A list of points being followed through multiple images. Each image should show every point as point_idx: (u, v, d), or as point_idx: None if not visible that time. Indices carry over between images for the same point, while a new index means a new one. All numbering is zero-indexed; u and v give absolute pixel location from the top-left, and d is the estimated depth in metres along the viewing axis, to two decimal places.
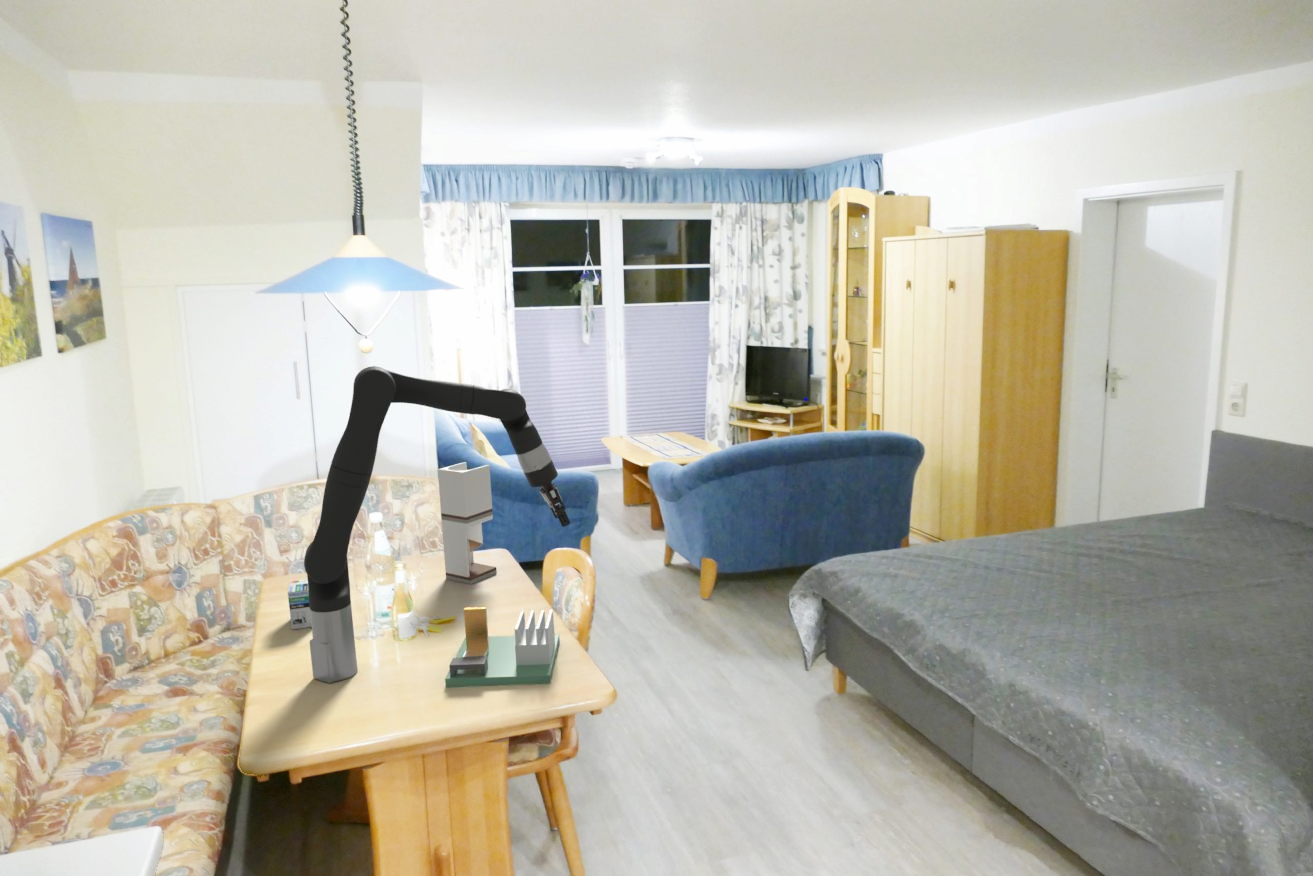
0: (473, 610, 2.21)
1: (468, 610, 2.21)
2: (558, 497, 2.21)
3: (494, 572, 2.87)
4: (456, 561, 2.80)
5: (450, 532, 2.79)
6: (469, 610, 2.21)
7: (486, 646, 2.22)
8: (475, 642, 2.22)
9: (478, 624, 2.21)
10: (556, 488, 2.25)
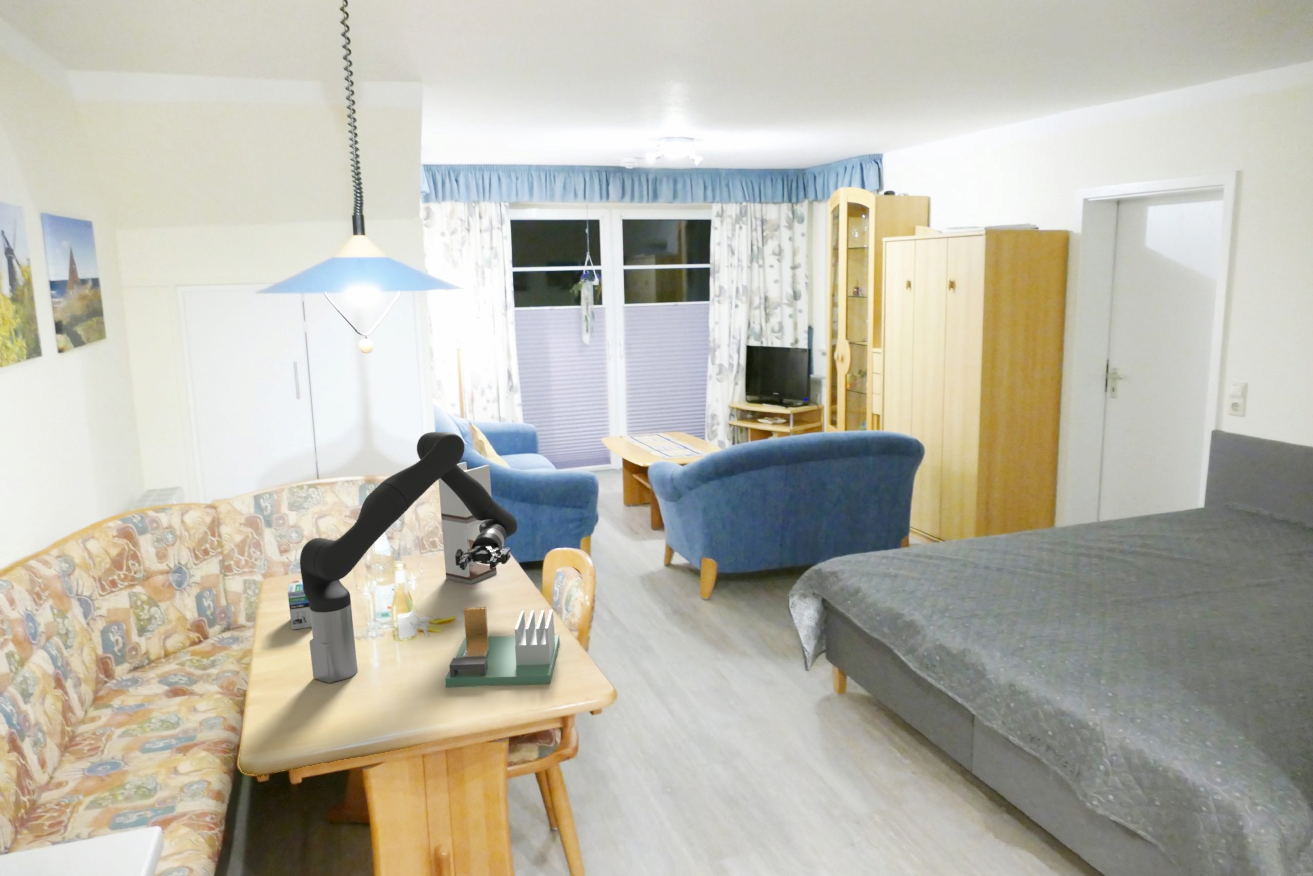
0: (473, 610, 2.21)
1: (468, 610, 2.21)
2: (508, 557, 2.34)
3: (494, 572, 2.87)
4: None
5: (450, 532, 2.79)
6: (469, 610, 2.21)
7: (486, 646, 2.22)
8: (475, 642, 2.22)
9: (478, 624, 2.21)
10: None
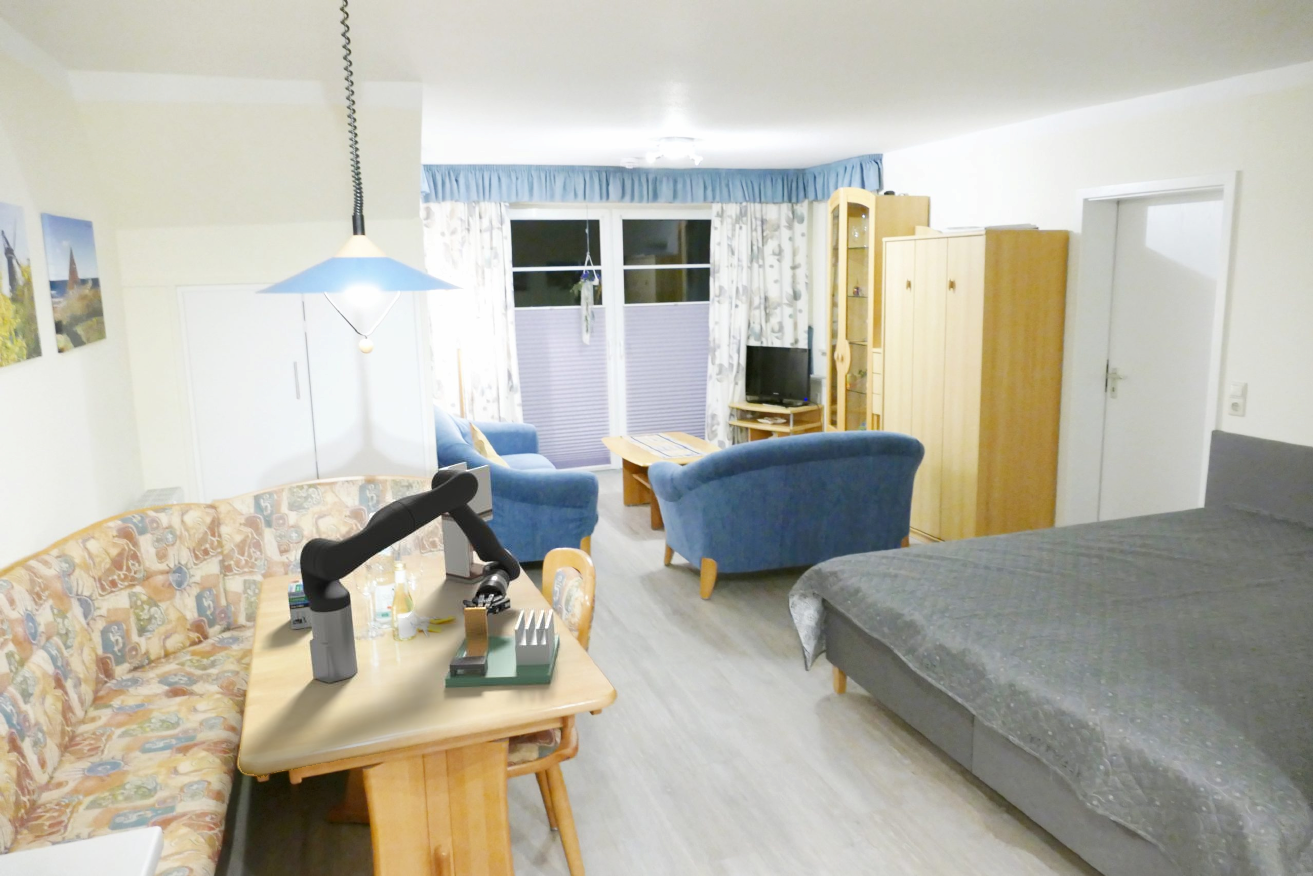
0: (473, 610, 2.21)
1: (468, 610, 2.21)
2: (505, 608, 2.35)
3: None
4: (456, 561, 2.80)
5: (450, 532, 2.79)
6: (469, 610, 2.21)
7: (486, 646, 2.22)
8: (475, 642, 2.22)
9: (478, 624, 2.21)
10: None
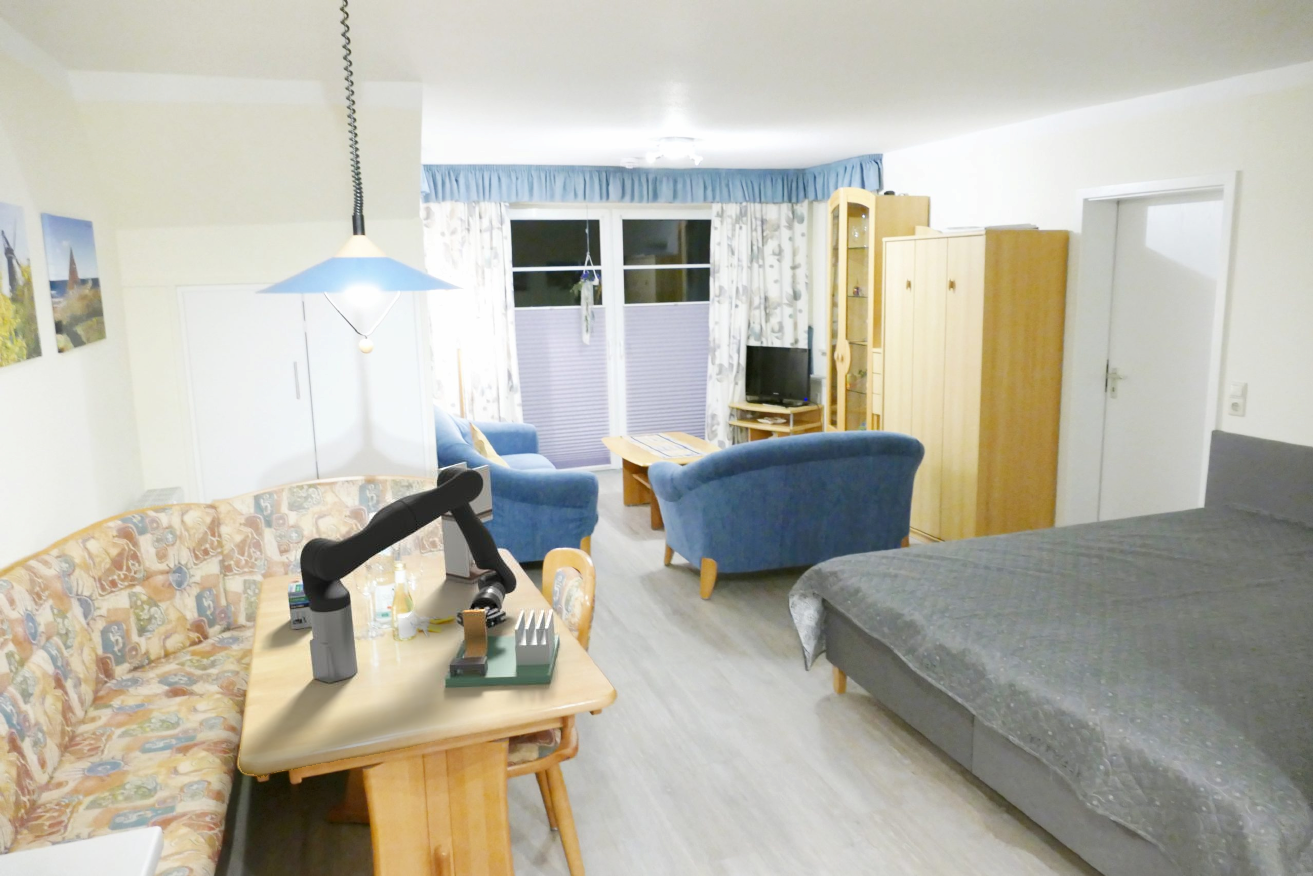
0: (472, 612, 2.19)
1: (467, 612, 2.19)
2: (500, 622, 2.29)
3: None
4: (456, 561, 2.80)
5: (450, 532, 2.79)
6: (468, 612, 2.19)
7: (485, 649, 2.21)
8: (474, 644, 2.21)
9: (477, 626, 2.20)
10: None
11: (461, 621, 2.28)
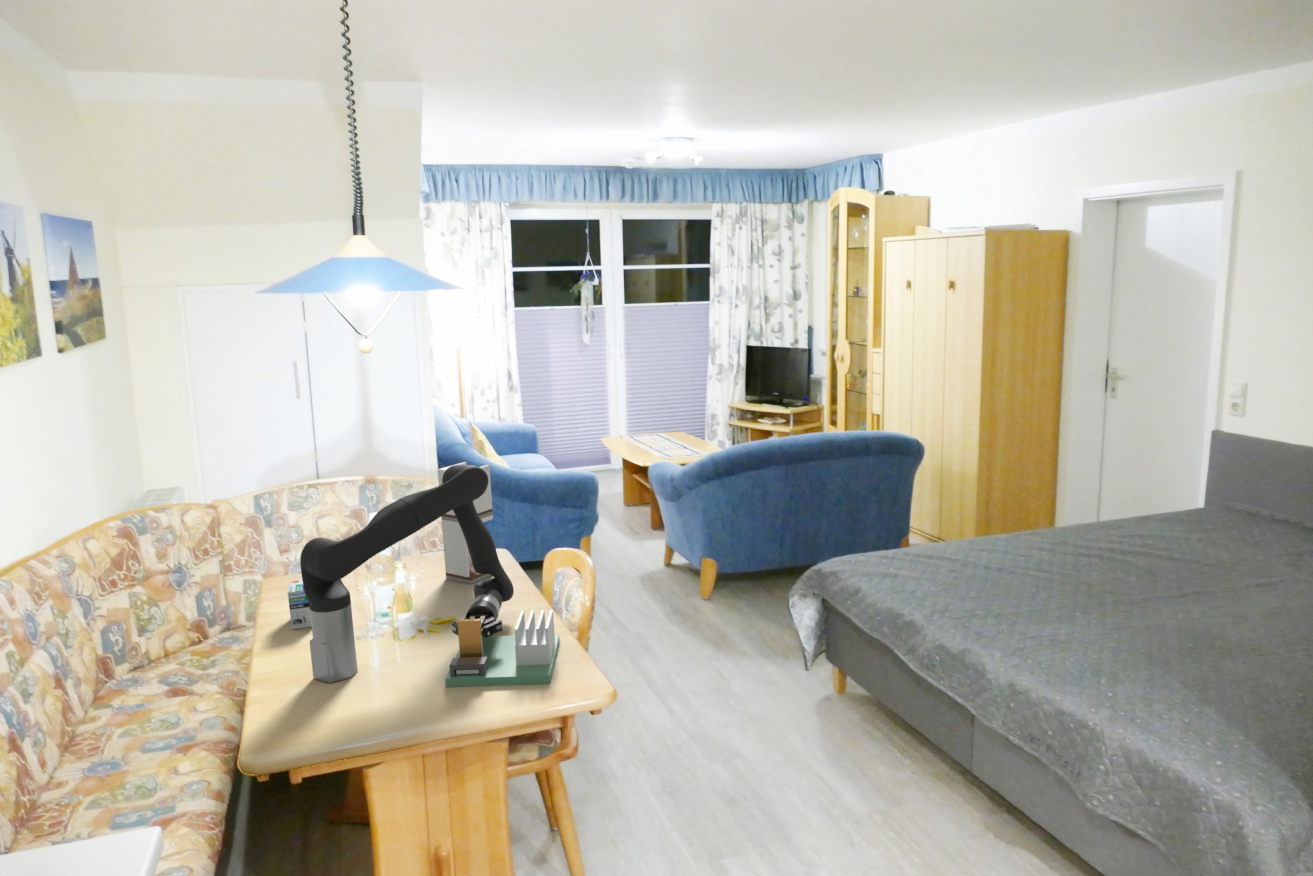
0: (467, 622, 2.13)
1: (462, 622, 2.13)
2: (496, 631, 2.23)
3: None
4: (456, 561, 2.80)
5: (450, 532, 2.79)
6: (463, 622, 2.13)
7: None
8: (470, 655, 2.15)
9: (472, 636, 2.14)
10: None
11: (456, 630, 2.22)
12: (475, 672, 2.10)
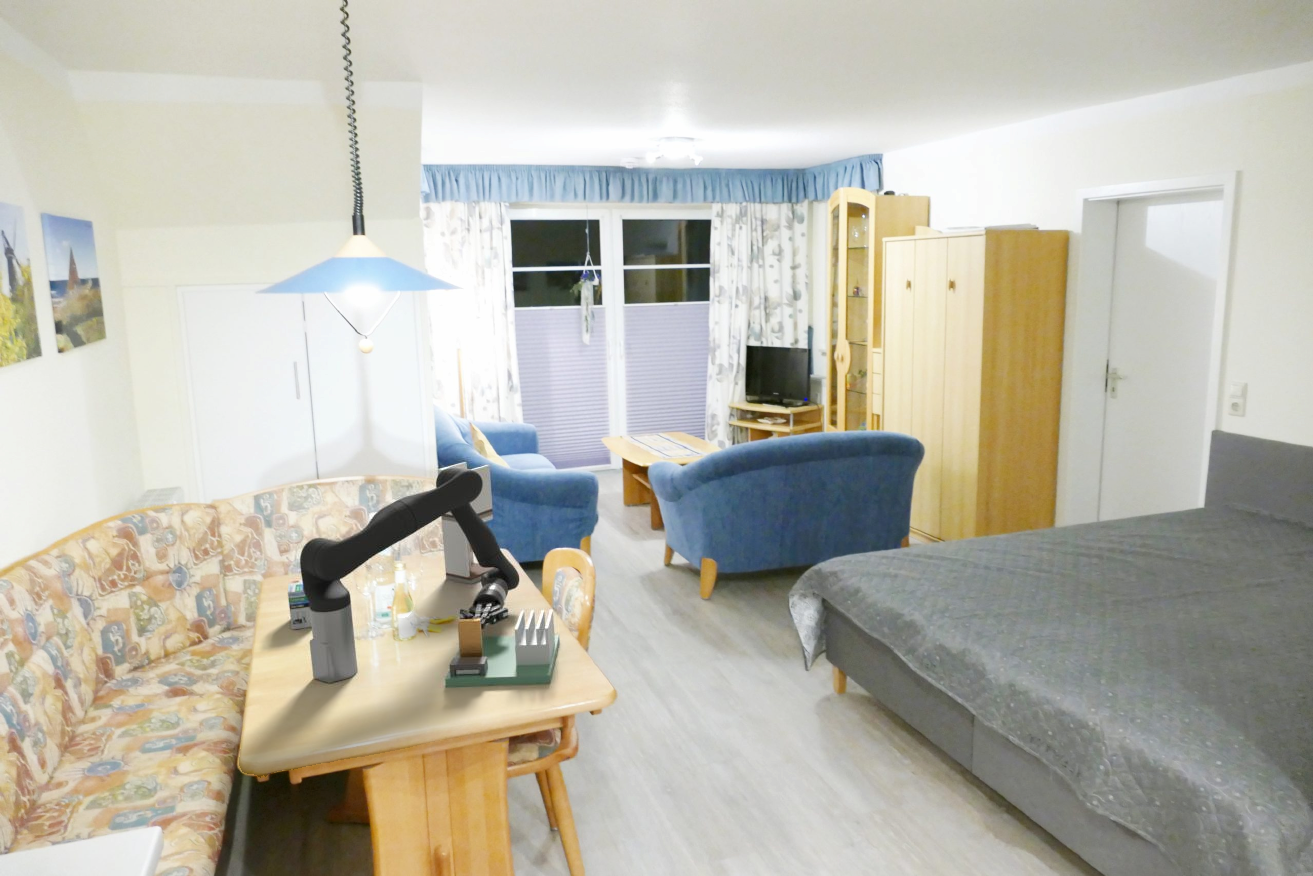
0: (467, 622, 2.13)
1: (462, 622, 2.13)
2: (502, 618, 2.30)
3: None
4: (456, 561, 2.80)
5: (450, 532, 2.79)
6: (463, 622, 2.13)
7: None
8: (470, 655, 2.15)
9: (472, 636, 2.14)
10: None
11: (464, 618, 2.30)
12: (475, 672, 2.11)
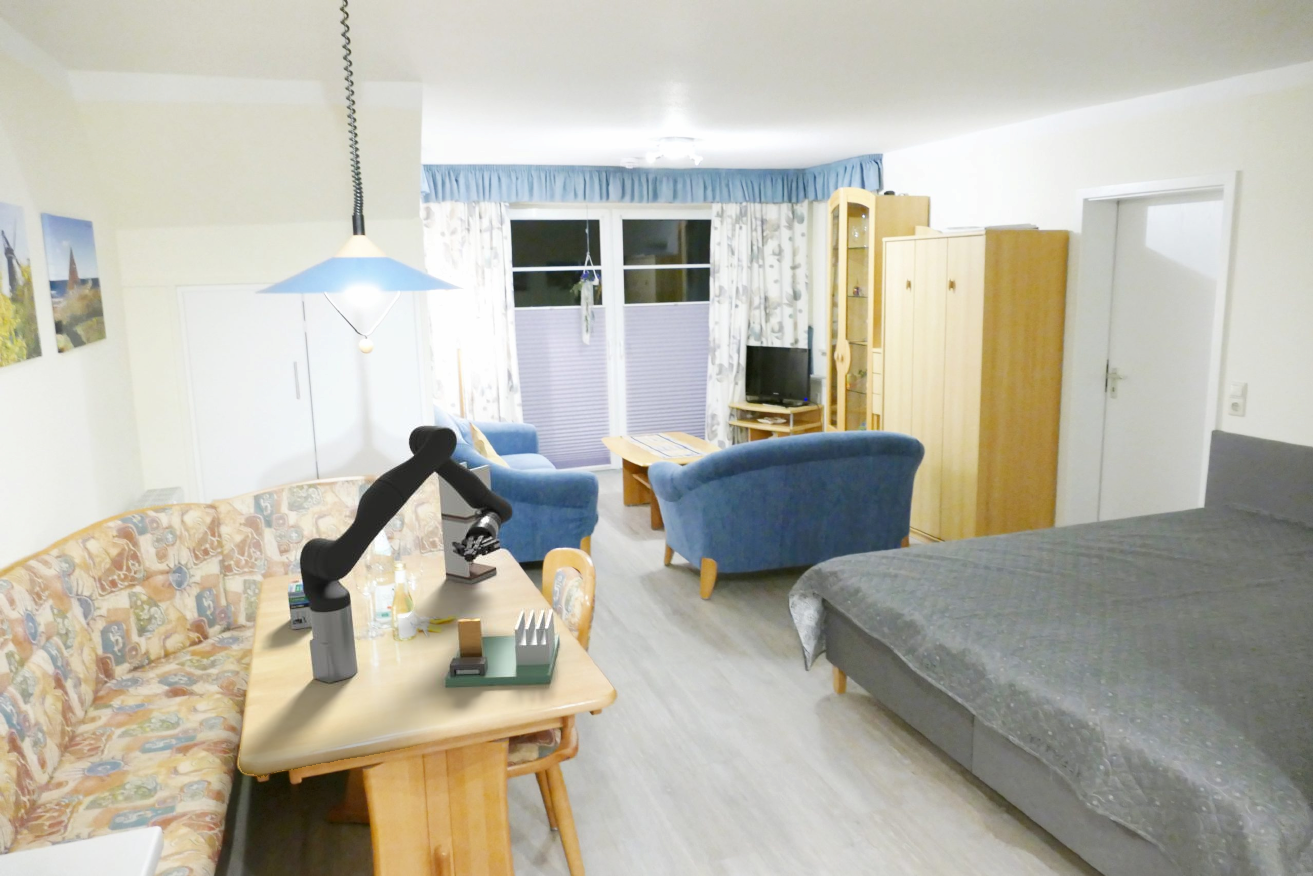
0: (467, 622, 2.13)
1: (462, 622, 2.13)
2: (494, 549, 2.34)
3: (494, 572, 2.87)
4: (456, 561, 2.80)
5: (450, 532, 2.79)
6: (463, 622, 2.13)
7: None
8: (470, 655, 2.15)
9: (472, 636, 2.14)
10: None
11: (456, 550, 2.34)
12: (475, 672, 2.11)
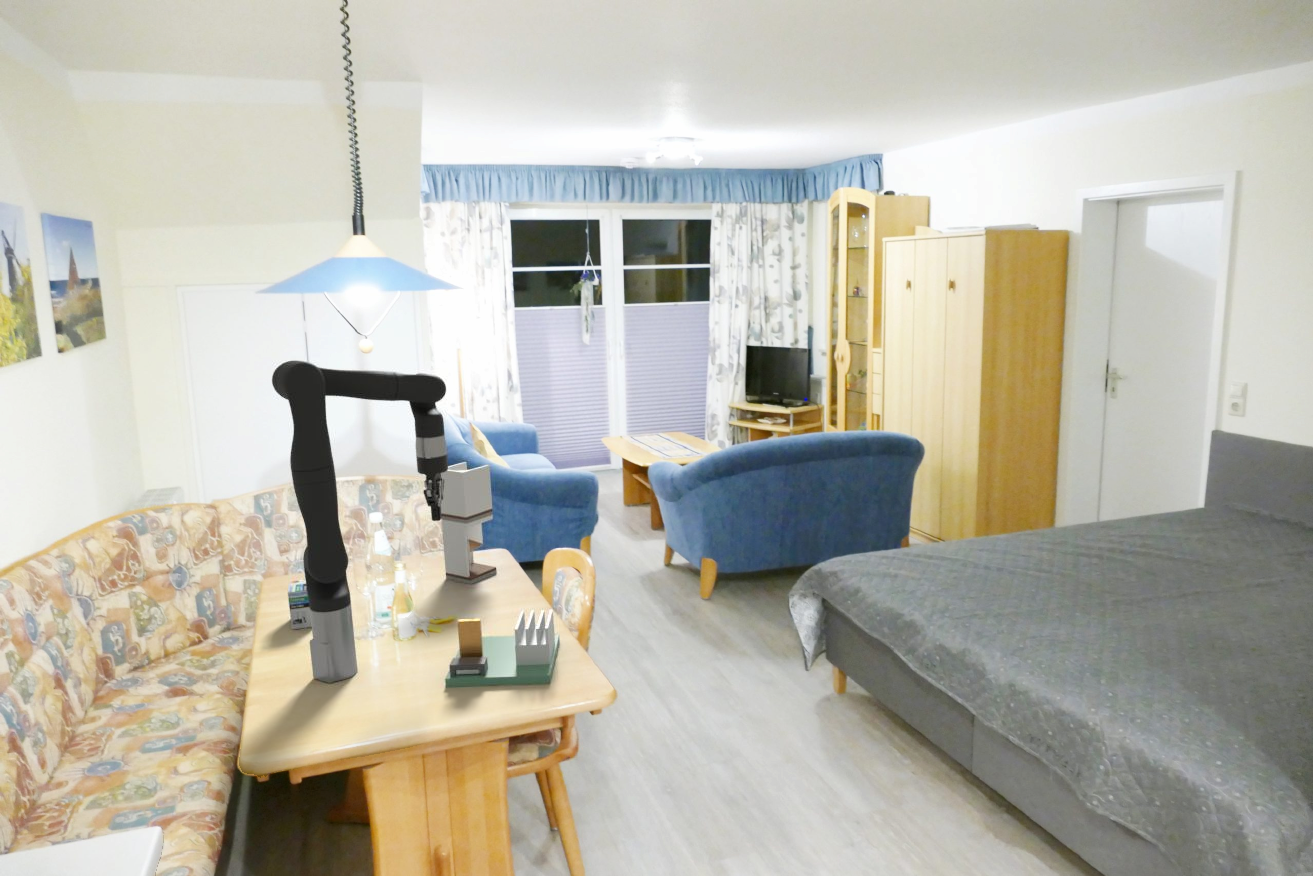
0: (467, 622, 2.13)
1: (462, 622, 2.13)
2: (433, 497, 2.25)
3: (494, 572, 2.87)
4: (456, 561, 2.80)
5: (450, 532, 2.79)
6: (463, 622, 2.13)
7: None
8: (470, 655, 2.15)
9: (472, 636, 2.14)
10: (439, 484, 2.28)
11: None
12: (475, 672, 2.11)
